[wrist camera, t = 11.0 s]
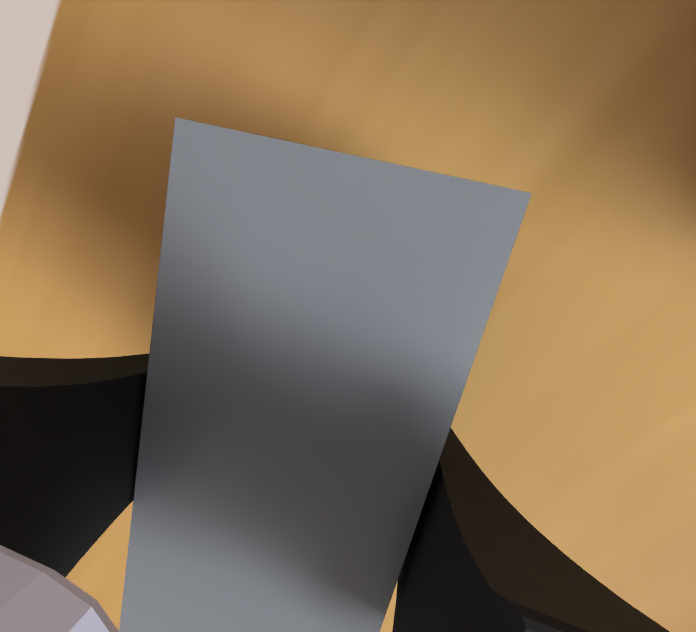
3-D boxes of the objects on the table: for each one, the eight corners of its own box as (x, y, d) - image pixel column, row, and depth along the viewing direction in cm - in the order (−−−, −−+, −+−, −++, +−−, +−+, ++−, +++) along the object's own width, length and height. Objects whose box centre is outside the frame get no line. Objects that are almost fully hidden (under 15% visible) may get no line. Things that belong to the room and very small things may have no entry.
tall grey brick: (475, 221, 11) (531, 193, 5) (372, 548, 14) (335, 756, 8) (295, 179, 12) (175, 117, 6) (234, 494, 15) (117, 649, 9)
